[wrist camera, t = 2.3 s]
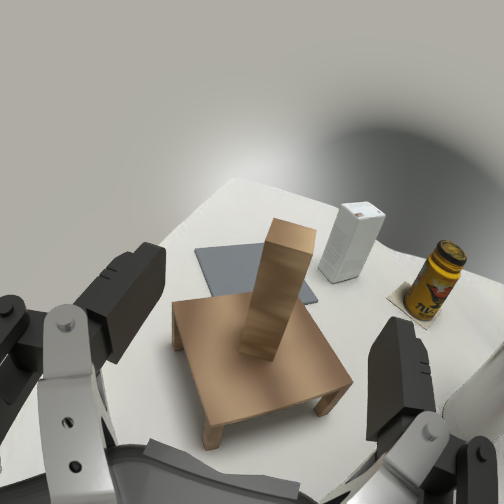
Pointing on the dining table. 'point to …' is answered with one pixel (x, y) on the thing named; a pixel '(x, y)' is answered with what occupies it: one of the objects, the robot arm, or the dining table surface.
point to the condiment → (431, 284)
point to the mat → (237, 270)
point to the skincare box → (350, 241)
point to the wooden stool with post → (260, 341)
